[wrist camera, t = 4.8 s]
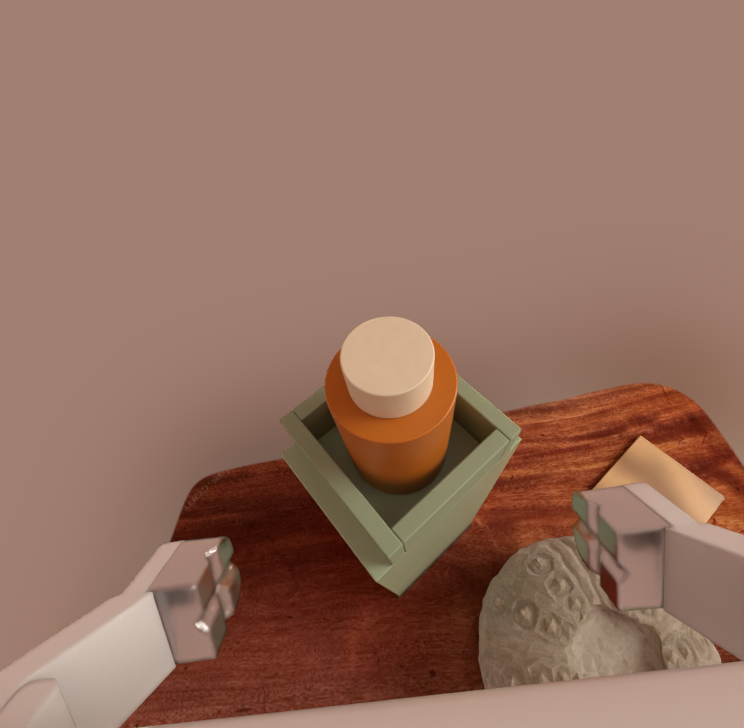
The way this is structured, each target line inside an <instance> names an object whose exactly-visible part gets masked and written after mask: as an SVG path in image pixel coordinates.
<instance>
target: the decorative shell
mask: <svg viewBox="0 0 744 728" xmlns="http://www.w3.org/2000/svg"><path fill="white" fill-rule="evenodd" d="M478 661H479V665H480V670H481V675H482V680H483V683H484V688H485V689H492V688H501V687H510V686H520V685H529V684H538V683H548V682H557V681H566V680H575V679H585V678H594V677H603V676H613V675H622V674H631V673H640V672H650V671H659V670H668V669H677V668H685V667H694V666H703V665H711V664H720V663H721V659H720V656H719V654H718V652H717V650H716V648H715V647H714V645H713V642H712V641H710V640H709V639H707V638H706V637H704V636H703V635H701V634H700V633H698V632H696V631H695V630H693V629H692V628H690V627H689V626H687V625H686V624H684V623H682V622H681V621H679V620H678V619H676V618H675V617H673V616H671V615H670V614H668V613H667V612H665V611H664V610H663V608H659V609H647V610H635V611H624V612H619V611H618V609H617V608H616V607H615V605H614V604H613V603H612V601H611V600H610V599H609V597H608V596H607V594H606V593H605V592H604V590H603V589H602V588H601V586H600V576H599V575H597V574H595V573H593V572H592V571H590V570H588V568H587V567H586V565H585V564H584V562H583V561H582V559H581V557H580V555H579V553H578V550H577V547H576V543H575V540H574V536H564V537H560V538H553V539H552V538H547V539H544V540H543V541H537V542H534V543H533V544H531V545H529V546H527V547H524V548H520V549H519V550H518V551H517V552H516V553H515V554H513V555H512V556H511V557H510V558H509V559H508V560H507V562H506V563H505V564H504V566H503V567H502V569H501V570H500V572H499V573H498V575H496V576H495V577H493V579H492V580H491V582H490V584H489V586H488V589H487V592H486V595H485V596H484V597H483V604H482V610H481V613H480V616H479V656H478Z"/></svg>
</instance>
